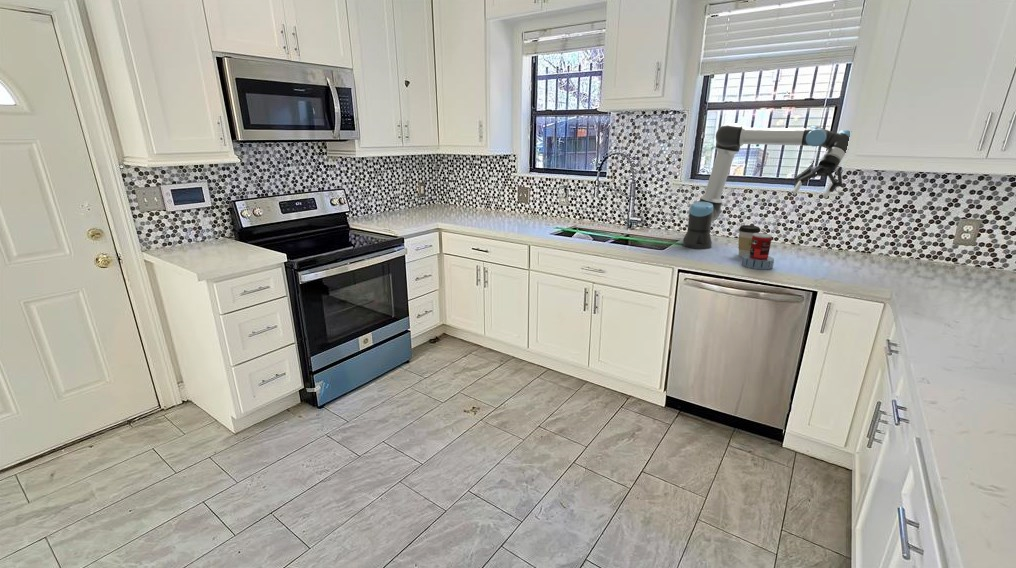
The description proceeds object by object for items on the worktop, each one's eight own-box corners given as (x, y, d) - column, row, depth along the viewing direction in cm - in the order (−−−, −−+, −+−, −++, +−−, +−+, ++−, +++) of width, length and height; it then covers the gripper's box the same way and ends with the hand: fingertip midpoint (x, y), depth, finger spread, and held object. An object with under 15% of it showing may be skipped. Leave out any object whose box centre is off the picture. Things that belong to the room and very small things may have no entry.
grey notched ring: (736, 264, 223) (737, 256, 222) (751, 260, 230) (752, 252, 229) (762, 271, 213) (764, 262, 212) (777, 266, 220) (779, 258, 219)
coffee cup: (758, 258, 233) (763, 229, 228) (737, 257, 235) (741, 228, 230) (752, 253, 242) (757, 225, 237) (732, 252, 244) (736, 224, 239)
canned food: (750, 254, 226) (754, 232, 222) (769, 256, 221) (773, 234, 218) (747, 258, 220) (751, 235, 216) (766, 260, 215) (770, 237, 212)
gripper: (863, 167, 210) (840, 203, 207) (805, 163, 230) (783, 196, 227) (860, 155, 206) (837, 192, 203) (801, 152, 225) (779, 186, 223)
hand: (809, 194), depth 215 cm, fingers open, 13 cm apart
